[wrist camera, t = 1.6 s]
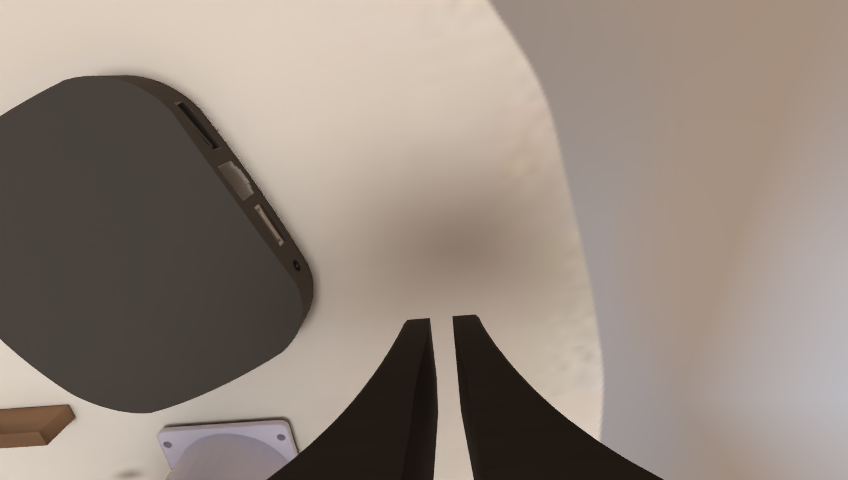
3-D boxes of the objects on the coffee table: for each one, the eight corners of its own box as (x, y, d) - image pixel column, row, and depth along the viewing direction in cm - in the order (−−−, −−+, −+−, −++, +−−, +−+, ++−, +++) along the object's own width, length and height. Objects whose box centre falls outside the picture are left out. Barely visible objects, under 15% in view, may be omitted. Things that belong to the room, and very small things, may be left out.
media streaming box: (-67, 194, 20) (-146, 214, 18) (160, 39, 18) (108, 33, 15) (139, 401, 25) (102, 443, 22) (344, 305, 22) (331, 339, 20)
